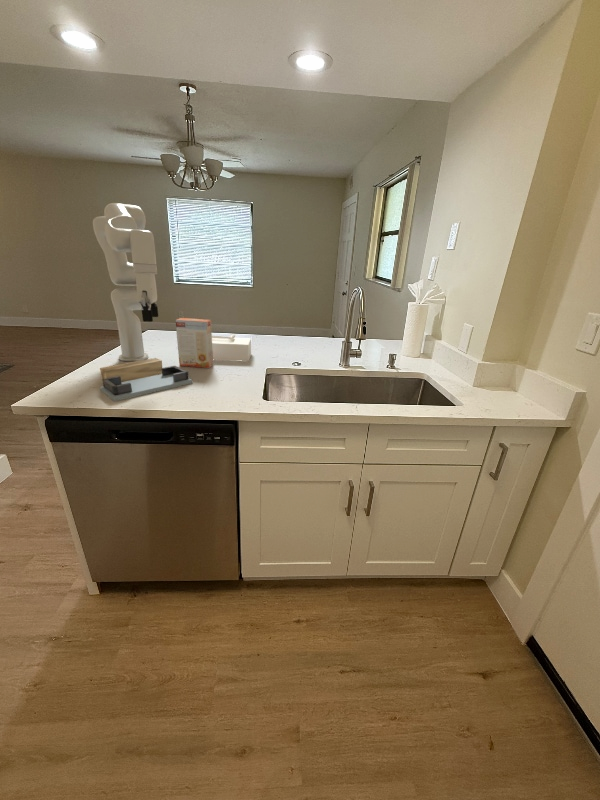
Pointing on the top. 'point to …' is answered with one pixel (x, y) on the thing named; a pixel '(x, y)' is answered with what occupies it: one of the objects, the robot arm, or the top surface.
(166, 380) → the rail base
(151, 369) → the slat
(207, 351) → the cracker box
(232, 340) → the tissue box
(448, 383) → the top surface
